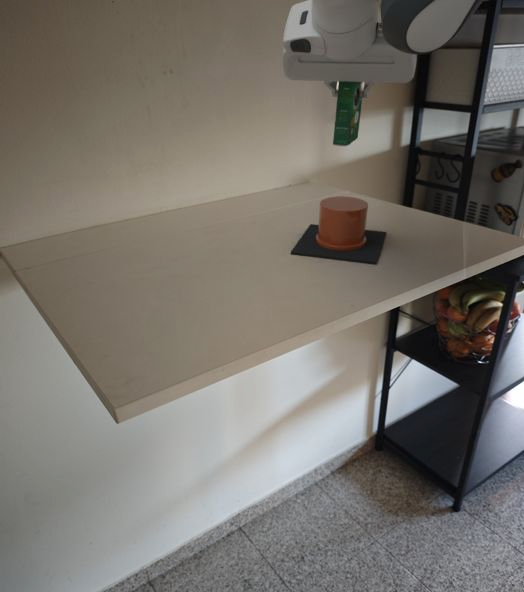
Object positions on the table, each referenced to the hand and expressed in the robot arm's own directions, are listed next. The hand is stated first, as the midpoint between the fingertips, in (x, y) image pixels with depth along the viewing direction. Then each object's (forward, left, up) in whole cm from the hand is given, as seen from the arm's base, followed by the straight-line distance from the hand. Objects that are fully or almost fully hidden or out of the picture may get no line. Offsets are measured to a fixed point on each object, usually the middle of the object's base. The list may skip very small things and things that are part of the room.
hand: (350, 94), depth 83 cm
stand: (0, -1, -26) cm, 26 cm away
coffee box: (0, +1, -8) cm, 8 cm away
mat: (0, -1, -27) cm, 27 cm away
